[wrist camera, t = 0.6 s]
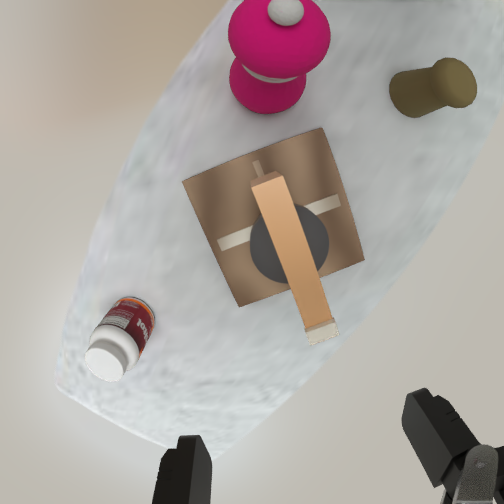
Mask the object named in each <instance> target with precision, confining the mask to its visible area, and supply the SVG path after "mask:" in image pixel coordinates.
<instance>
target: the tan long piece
mask: <svg viewBox="0 0 504 504" xmlns="http://www.w3.org/2000/svg"><path fill="white" fill-rule="evenodd" d="M251 189H252V191H253V194H254V196H255V198H256V201H257V203H258V206H259V208H260V211H261V214H260V215H259V216H258V218H257V219H256V221H255V222H254V224H253V226H252V229H251V233H250V253H251V257H252V260H253V262H254V264H255V266H256V268H257V269H258V270H259V271H260V272H261V273H262V274H263V275H264V276H265V277H267V278H268V279H270V280H273V281H275V282H278V283H285V284H289V285H290V288H291V290H292V293H293V296H294V298H295V301H296V304H297V306H298V309H299V312H300V314H301V317H302V320H303V322H304V325H305V328H304V329H305V332H306V335H307V338H308V340H309V343H310V346H311V345H314V344H316V343H319V342H322V341H324V340H327V339H330V338H332V337H335V336H338V335H339V332H338V328H337V325H336V322H335V320H334V318H332V316H331V312H330V309H329V306H328V303H327V300H326V297H325V293H324V290H323V287H322V284H321V281H320V278H319V275H318V272H317V271H318V270H319V269H320V268H321V267H322V266H323V264H324V262H325V260H326V258H327V255H328V251H329V237H328V233H327V230H326V228H325V226H324V224H323V223H322V221H321V220H320V219H319V218H318V217H317V216H316V215H315V214H314V213H313V212H312V211H310V210H309V209H308V208H306V207H304V206H302V205H299V204H295V203H293V201H292V198H291V196H290V193H289V190H288V188H287V185H286V182H285V180H284V177H283V175H281V174H280V173H278V172H276V171H274V172H271V173H269V174H266V175H263V176H261V177H258V178H256V179H253V180H251Z"/></svg>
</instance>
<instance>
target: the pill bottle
mask: <svg viewBox="0 0 504 504" xmlns="http://www.w3.org/2000/svg"><path fill="white" fill-rule="evenodd" d="M154 324H155V320H154V315H153V313H152V311H151V310H150V308H149V307H148V306H147V305H146V304H145V303H144V302H143V301H141V300H139V299H136V298H131V297H127V298H122V299H120V300H119V301H117V302H116V303H115V304H114V306H113V307H112V308H111V309H110V311H109V312H108V313H107V314H106V316H105V317H104V318H103V319H102V321H101V322H100V323H99V325H98V326H97V327H96V328H95V330H94V331H93V332H92V334H91V336H90V340H89V346H90V347H89V348H88V350H87V352H86V354H85V362H86V365H87V367H88V368H89V370H90V371H91V372H92V373H93V374H94V375H96V376H97V377H99V378H100V379H102V380H105V381H109V382H116V381H118V380H120V379H121V378H122V377H123V375H124V373H125V372H126V371H129V370H131V369H132V368H133V367H134V366H135V365H136V364H137V362H138V360H139V358H140V355H141V353H142V351H143V349H144V347H145V345H146V343H147V341H148V339H149V337H150V335H151V333H152V331H153V328H154Z"/></svg>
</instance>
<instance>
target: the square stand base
mask: <svg viewBox="0 0 504 504" xmlns="http://www.w3.org/2000/svg"><path fill="white" fill-rule="evenodd" d="M274 171H276V172H278V173H280V174H281V175H283V177H284V180H285V182H286V185H287V188H288V190H289V193H290V196H291V198H292V201H293V203H295V204H299V205H302V206H304V207H306V208H308V209H309V210H310V211H312V212H313V213H314V214H315V215H316V216H317V217H318V218H319V219H320V220H321V221H322V223H323V224H324V226H325V228H326V230H327V233H328V237H329V251H328V255H327V258H326V260H325V262H324V264H323V266H322V267H321V268H320V269H319V270H318V271H317V272H318V275H319V278H321V277H323V276H326V275H328V274H331V273H333V272H336V271H338V270H341V269H344V268H346V267H349V266H351V265H354V264H356V263H358V262H361V261H363V260H365V259H364V256H363V252H362V248H361V244H360V241H359V237H358V233H357V230H356V226H355V223H354V219H353V216H352V213H351V209H350V206H349V203H348V200H347V196H346V193H345V190H344V187H343V184H342V181H341V178H340V175H339V172H338V169H337V166H336V163H335V160H334V158H333V155H332V152H331V149H330V146H329V144H328V141H327V138H326V136H325V133H324V130H323V128H319V129H316V130H312V131H309V132H307V133H304V134H301V135H298V136H295V137H292V138H289V139H286V140H283V141H281V142H278V143H275V144H272V145H270V146H267V147H264V148H262V149H259V150H256V151H254V152H251V153H249V154H246V155H244V156H241V157H239V158H236V159H234V160H231V161H229V162H226V163H224V164H221V165H219V166H217V167H214V168H212V169H209V170H207V171H205V172H202V173H200V174H198V175H196V176H193V177H191V178H189V179H187V180H184V181H182V183H183V185H184V188H185V190H186V192H187V195H188V197H189V199H190V201H191V204H192V206H193V208H194V211H195V213H196V215H197V217H198V220H199V222H200V224H201V226H202V229H203V231H204V233H205V235H206V237H207V240H208V242H209V244H210V246H211V248H212V251H213V253H214V255H215V257H216V259H217V262H218V264H219V266H220V268H221V270H222V272H223V275H224V277H225V279H226V281H227V283H228V285H229V287H230V289H231V292H232V294H233V296H234V298H235V300H236V302H237V304H238V306H239V307H242V306H245V305H247V304H250V303H253V302H256V301H259V300H261V299H264V298H267V297H270V296H273V295H275V294H278V293H281V292H283V291H286V290H289V289H291V288H290V285H289V284H285V283H278V282H275V281H273V280H270V279H268V278H267V277H265V276H264V275H263V274H262V273H261V272H260V271H259V270H258V269H257V268H256V266H255V264H254V262H253V260H252V257H251V253H250V233H251V229H252V226H253V224H254V222H255V221H256V219H257V218H258V216H259V215H260V214H261V211H260V208H259V206H258V203H257V201H256V198H255V196H254V194H253V191H252V189H251V180H253V179H256V178H258V177H261V176H263V175H266V174H269V173H271V172H274Z"/></svg>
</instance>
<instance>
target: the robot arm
mask: <svg viewBox="0 0 504 504" xmlns="http://www.w3.org/2000/svg"><path fill="white" fill-rule="evenodd" d="M402 427H403V430H404V432H405V434H406V435H407V437H408V439H409V441H410V443H411V445H412V447H413V449H414V450H415V452H416V454H417V456H418V457H419V459H420V462H421V463H422V466H423V467H424V469H425V471H426V473H427V475H428V477H429V479H430V481H431V483H432V485H433V487H434V488H435V487H437V486H440V485H442V484H443V485H444V487H445V490H444V493H443V496H442V500H441V503H440V504H492V501H493V497H494V499H495V501H496V503H497V504H504V446H502V447H499V448H493V447H492V446H489V445H481V444H480V443H479V442H478V441H477V439H476V438H475V436H474V435H473V434H472V432H471V431H470V430H469V428H468V427H467V425H466V424H465V423H464V421H463V420H462V418H460V416H459V414H458V413H457V412H455V409H454V408H453V406H452V405H451V404H450V402H449V401H447V400H446V399H444V398H442V397H441V396H439V395H437V396H435V397H433V396H432V395H431V393H430V392H429V390H428V389H426V388H422V389H419V390H417V391H414V392H412V393H409V394H407V396H406V401H405V405H404V410H403V414H402ZM211 480H212V461H211V457H210V455H209V453H208V451H207V449H206V447H205V444H204V442H203V440H202V438H201V436H200V435H187V436H180V437H179V439H178V443H177V449H168V450H167V451H166V453H165V454H164V456H163V457H162V458H161V462H160V467H159V472H158V476H157V481H156V486H155V491H154V495H153V500H152V504H210V498H211Z"/></svg>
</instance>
